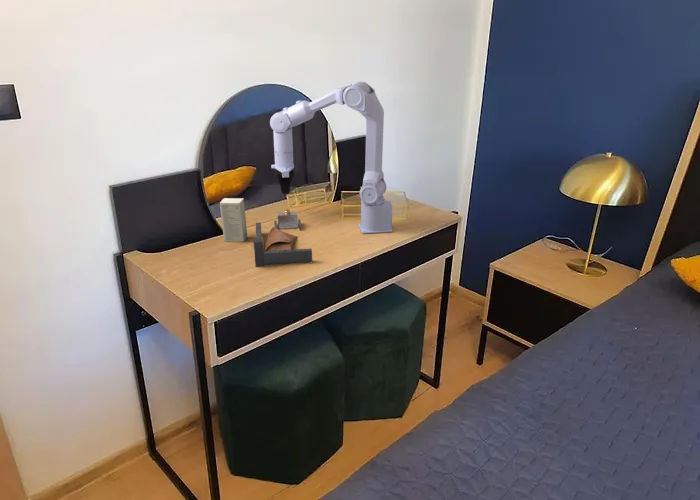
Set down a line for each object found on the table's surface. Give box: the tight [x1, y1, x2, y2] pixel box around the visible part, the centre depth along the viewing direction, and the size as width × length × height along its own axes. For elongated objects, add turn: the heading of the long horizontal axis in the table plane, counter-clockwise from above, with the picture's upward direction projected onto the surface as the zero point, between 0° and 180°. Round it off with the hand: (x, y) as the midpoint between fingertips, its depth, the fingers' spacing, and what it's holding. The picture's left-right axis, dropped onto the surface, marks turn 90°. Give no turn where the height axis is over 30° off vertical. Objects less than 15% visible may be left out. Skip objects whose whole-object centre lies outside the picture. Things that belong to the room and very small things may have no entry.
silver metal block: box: [277, 209, 299, 230], centre depth 177 cm, size 6×3×5 cm, turn 99°
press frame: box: [253, 219, 313, 268], centre depth 165 cm, size 15×31×7 cm, turn 9°
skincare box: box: [219, 197, 248, 242], centre depth 167 cm, size 6×4×12 cm
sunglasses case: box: [263, 226, 298, 251], centre depth 163 cm, size 18×7×7 cm
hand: (285, 193), depth 181 cm, fingers closed
